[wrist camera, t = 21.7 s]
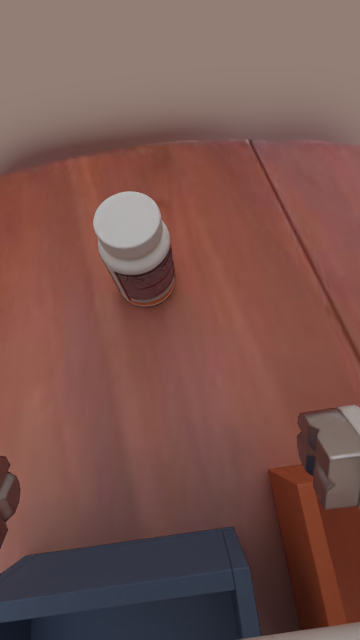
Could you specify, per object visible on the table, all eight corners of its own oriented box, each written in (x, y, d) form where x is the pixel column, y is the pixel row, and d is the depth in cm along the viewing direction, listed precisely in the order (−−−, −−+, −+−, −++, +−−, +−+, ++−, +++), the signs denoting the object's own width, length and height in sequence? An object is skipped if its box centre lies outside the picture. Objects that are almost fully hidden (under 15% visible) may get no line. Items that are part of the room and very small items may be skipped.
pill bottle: (187, 276, 27) (183, 211, 19) (150, 319, 26) (129, 269, 18) (144, 246, 28) (123, 172, 20) (106, 286, 27) (69, 225, 19)
